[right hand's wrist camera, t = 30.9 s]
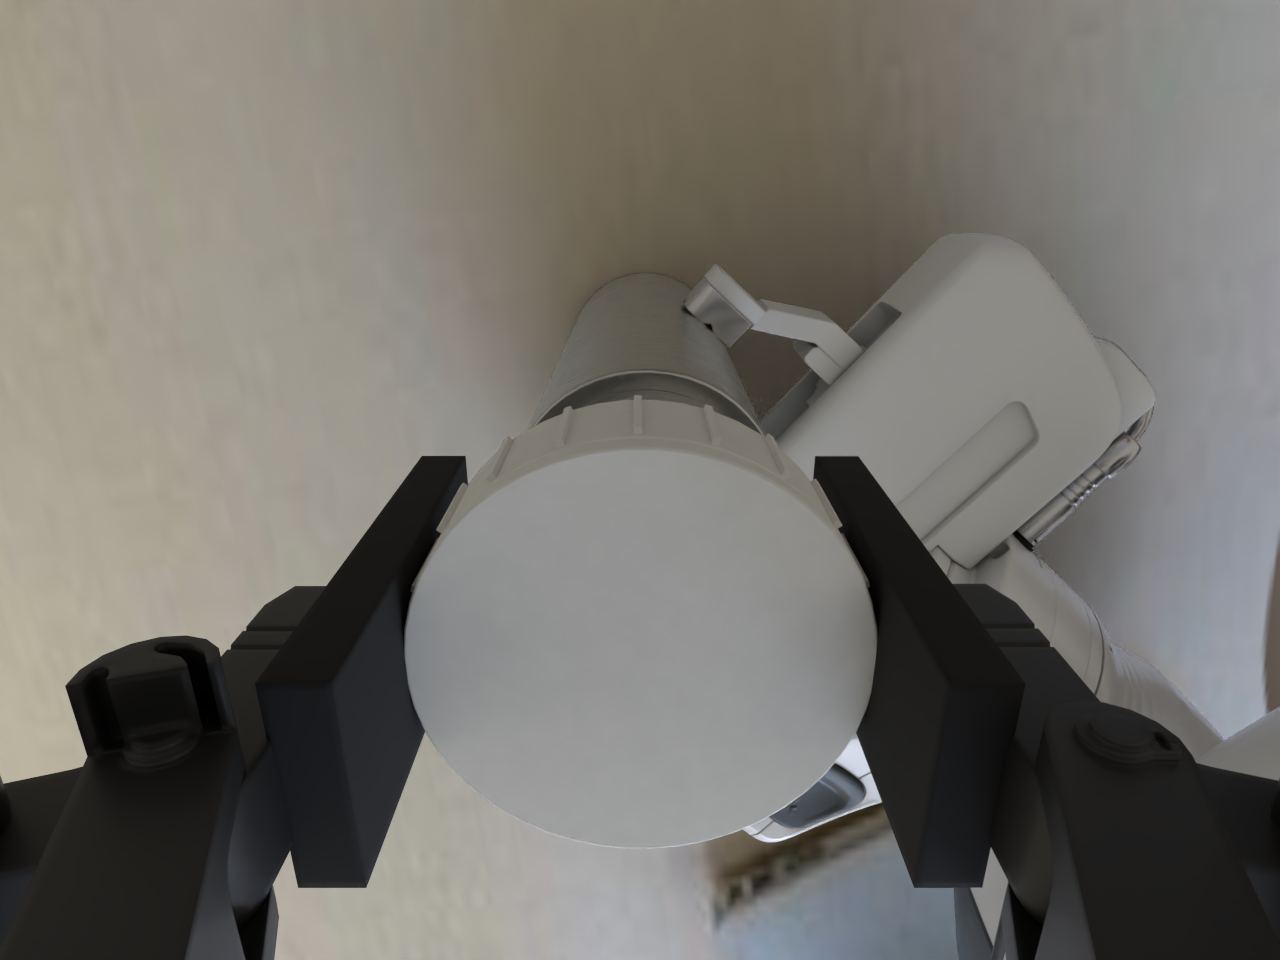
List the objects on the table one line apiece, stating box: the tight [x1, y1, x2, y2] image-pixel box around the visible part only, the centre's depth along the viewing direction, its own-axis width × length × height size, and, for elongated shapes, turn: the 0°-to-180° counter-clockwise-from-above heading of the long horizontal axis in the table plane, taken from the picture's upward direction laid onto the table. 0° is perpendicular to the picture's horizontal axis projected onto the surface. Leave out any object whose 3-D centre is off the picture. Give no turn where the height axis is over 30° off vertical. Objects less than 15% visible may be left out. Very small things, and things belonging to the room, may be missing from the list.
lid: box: [404, 395, 878, 848], centre depth 11 cm, size 6×6×2 cm
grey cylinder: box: [528, 273, 766, 437], centre depth 22 cm, size 5×5×17 cm
